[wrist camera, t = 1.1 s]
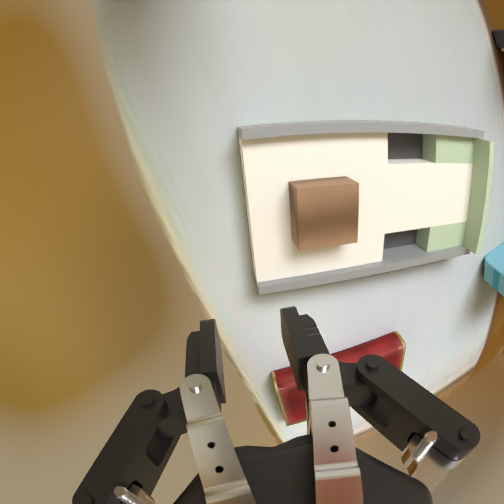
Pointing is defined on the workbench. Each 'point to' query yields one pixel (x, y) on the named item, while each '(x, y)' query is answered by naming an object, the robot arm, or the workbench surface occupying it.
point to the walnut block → (324, 212)
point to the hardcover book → (383, 346)
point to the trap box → (366, 195)
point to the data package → (495, 269)
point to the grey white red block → (499, 38)
